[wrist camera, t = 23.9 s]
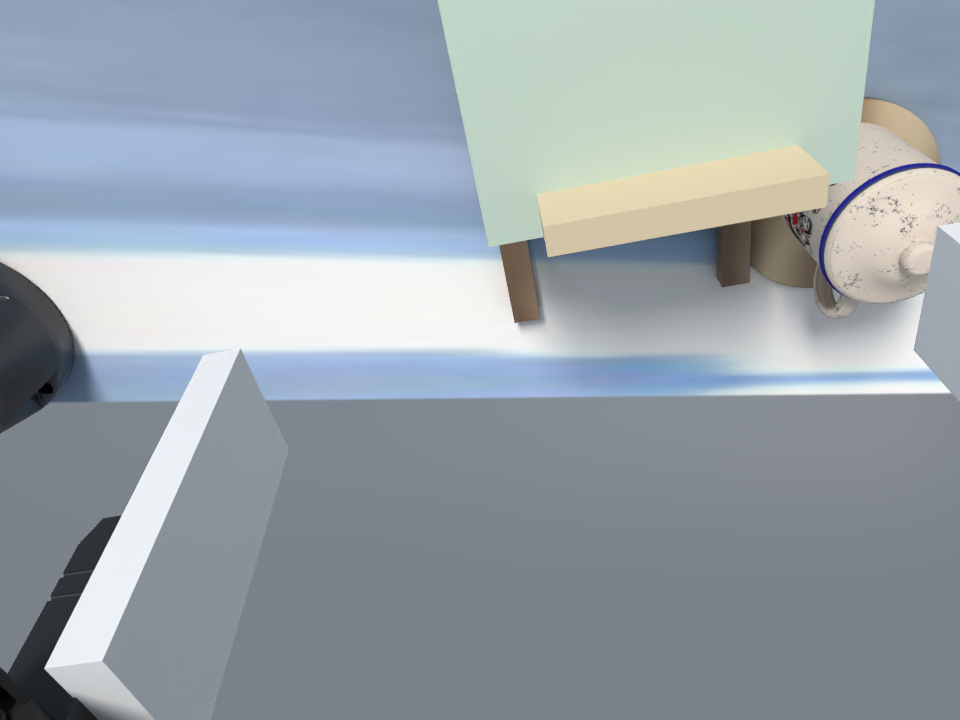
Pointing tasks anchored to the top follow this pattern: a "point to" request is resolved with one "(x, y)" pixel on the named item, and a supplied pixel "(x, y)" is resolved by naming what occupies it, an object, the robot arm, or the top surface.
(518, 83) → the small green table
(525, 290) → the rails
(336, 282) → the top surface
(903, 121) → the trivet
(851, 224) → the teacup with lid
